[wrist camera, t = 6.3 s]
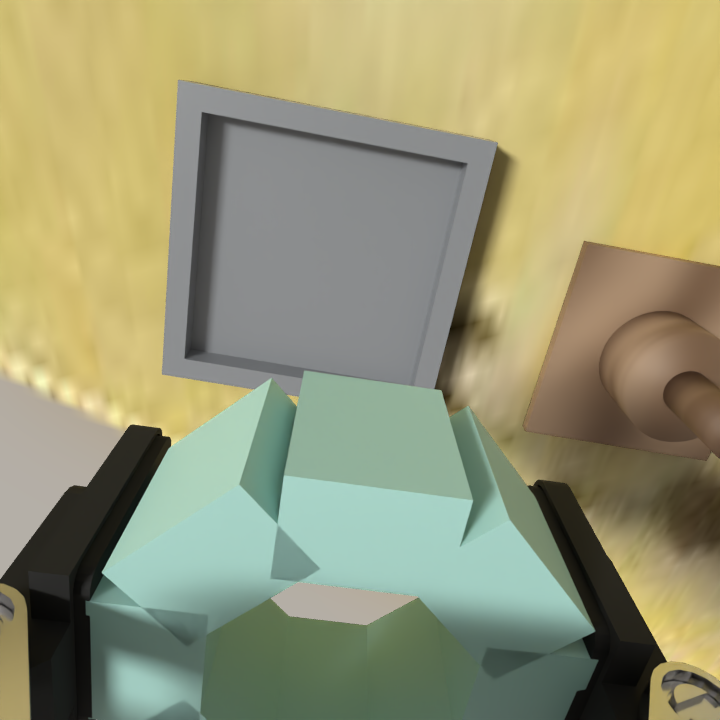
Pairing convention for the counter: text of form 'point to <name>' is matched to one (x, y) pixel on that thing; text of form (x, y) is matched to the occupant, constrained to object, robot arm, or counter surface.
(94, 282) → the counter surface
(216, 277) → the tray
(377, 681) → the ring
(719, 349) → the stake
